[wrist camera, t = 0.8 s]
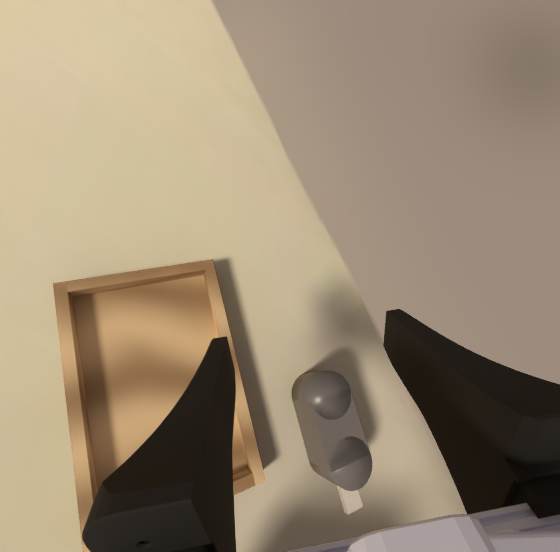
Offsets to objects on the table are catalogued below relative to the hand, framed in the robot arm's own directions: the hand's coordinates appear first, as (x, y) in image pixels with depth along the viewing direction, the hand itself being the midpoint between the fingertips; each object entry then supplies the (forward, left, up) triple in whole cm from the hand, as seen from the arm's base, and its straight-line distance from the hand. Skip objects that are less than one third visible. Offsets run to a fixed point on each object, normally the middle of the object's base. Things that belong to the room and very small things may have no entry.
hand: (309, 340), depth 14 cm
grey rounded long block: (-7, -6, -15) cm, 17 cm away
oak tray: (0, +6, -15) cm, 16 cm away
